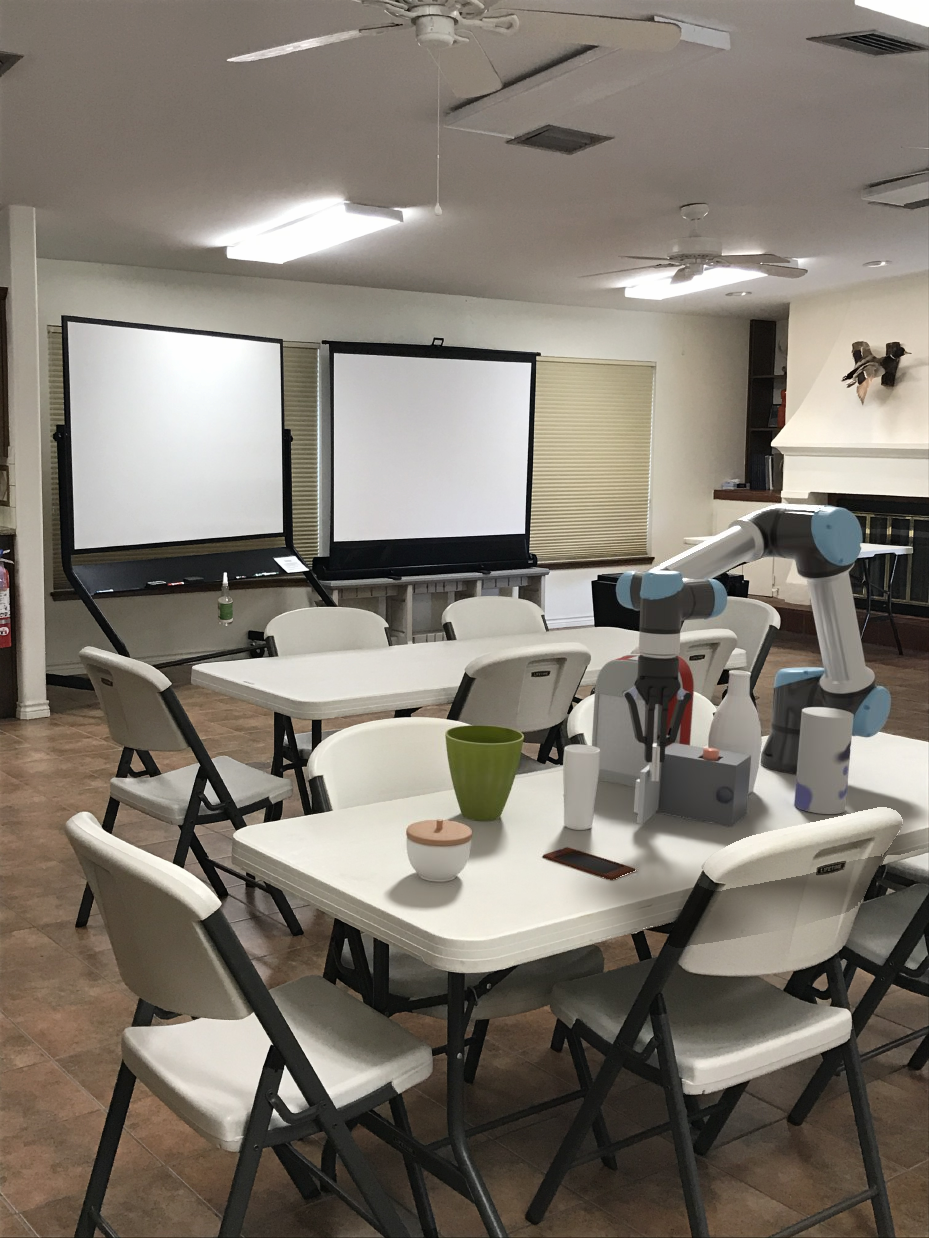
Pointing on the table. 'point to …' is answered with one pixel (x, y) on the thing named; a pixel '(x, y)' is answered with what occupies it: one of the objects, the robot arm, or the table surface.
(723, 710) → the bottle
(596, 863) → the smartphone
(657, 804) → the side door
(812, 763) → the container
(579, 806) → the drinking glass
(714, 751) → the latch button
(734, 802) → the box
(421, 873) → the lidded jar
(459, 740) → the flower pot
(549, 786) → the table surface
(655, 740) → the striped box
